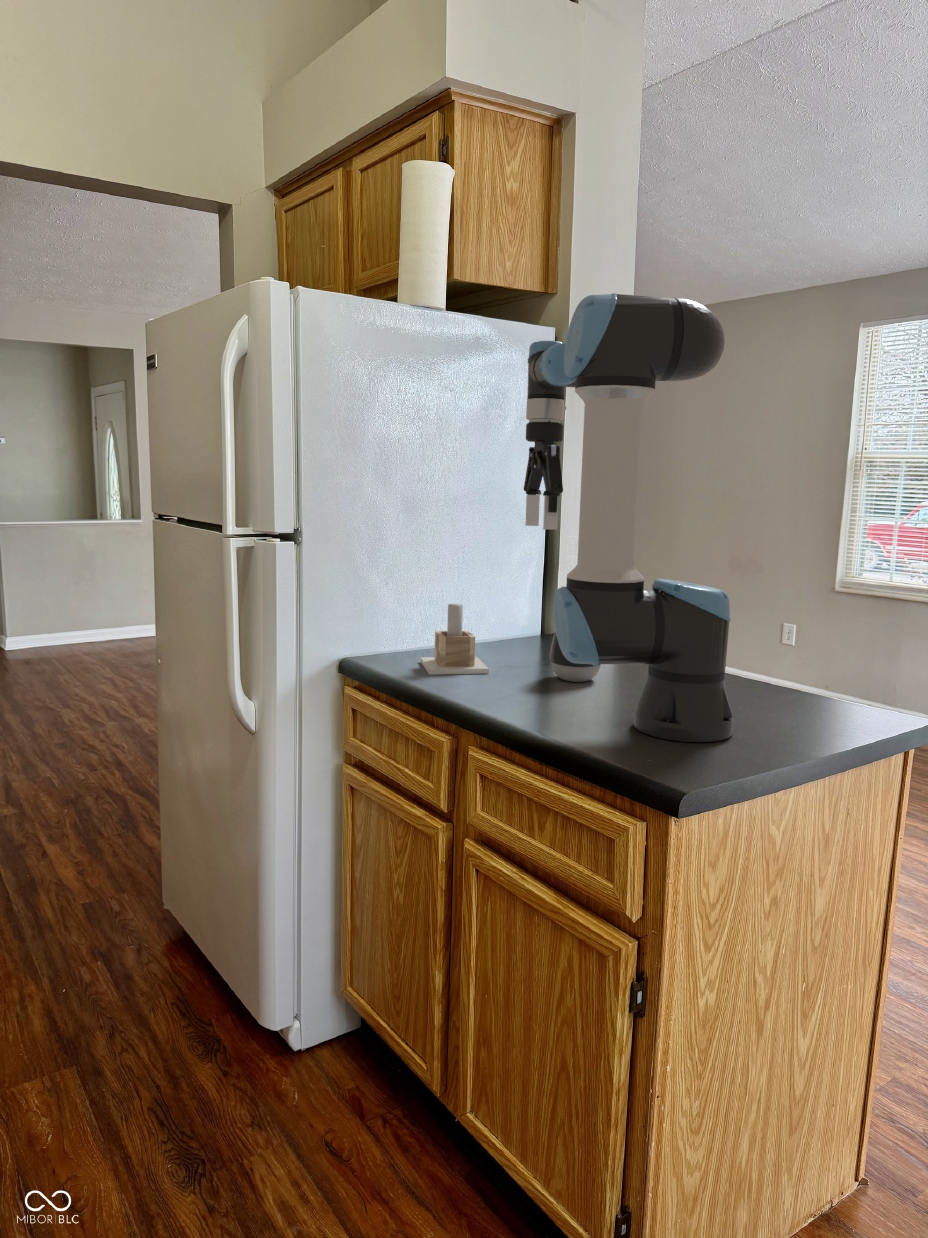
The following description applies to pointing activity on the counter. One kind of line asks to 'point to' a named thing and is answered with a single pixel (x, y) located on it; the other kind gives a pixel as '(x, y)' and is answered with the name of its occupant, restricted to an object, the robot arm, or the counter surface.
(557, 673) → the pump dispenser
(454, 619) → the post fixture
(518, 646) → the counter surface
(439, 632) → the collar
